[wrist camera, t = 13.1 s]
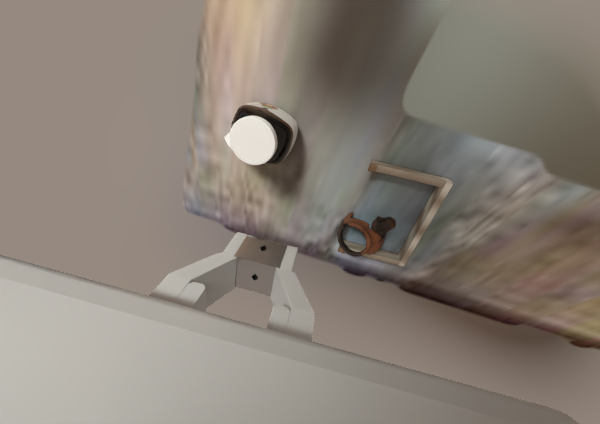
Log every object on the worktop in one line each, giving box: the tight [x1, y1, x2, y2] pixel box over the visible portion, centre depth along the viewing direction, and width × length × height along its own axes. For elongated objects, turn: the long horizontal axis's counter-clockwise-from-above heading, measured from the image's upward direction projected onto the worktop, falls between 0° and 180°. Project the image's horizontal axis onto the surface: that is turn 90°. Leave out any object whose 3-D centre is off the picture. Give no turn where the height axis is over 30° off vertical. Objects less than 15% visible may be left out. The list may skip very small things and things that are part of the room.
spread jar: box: [224, 102, 298, 166], centre depth 39 cm, size 12×11×12 cm
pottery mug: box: [337, 212, 396, 256], centre depth 47 cm, size 12×10×8 cm
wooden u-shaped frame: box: [338, 160, 454, 267], centre depth 46 cm, size 20×15×3 cm
